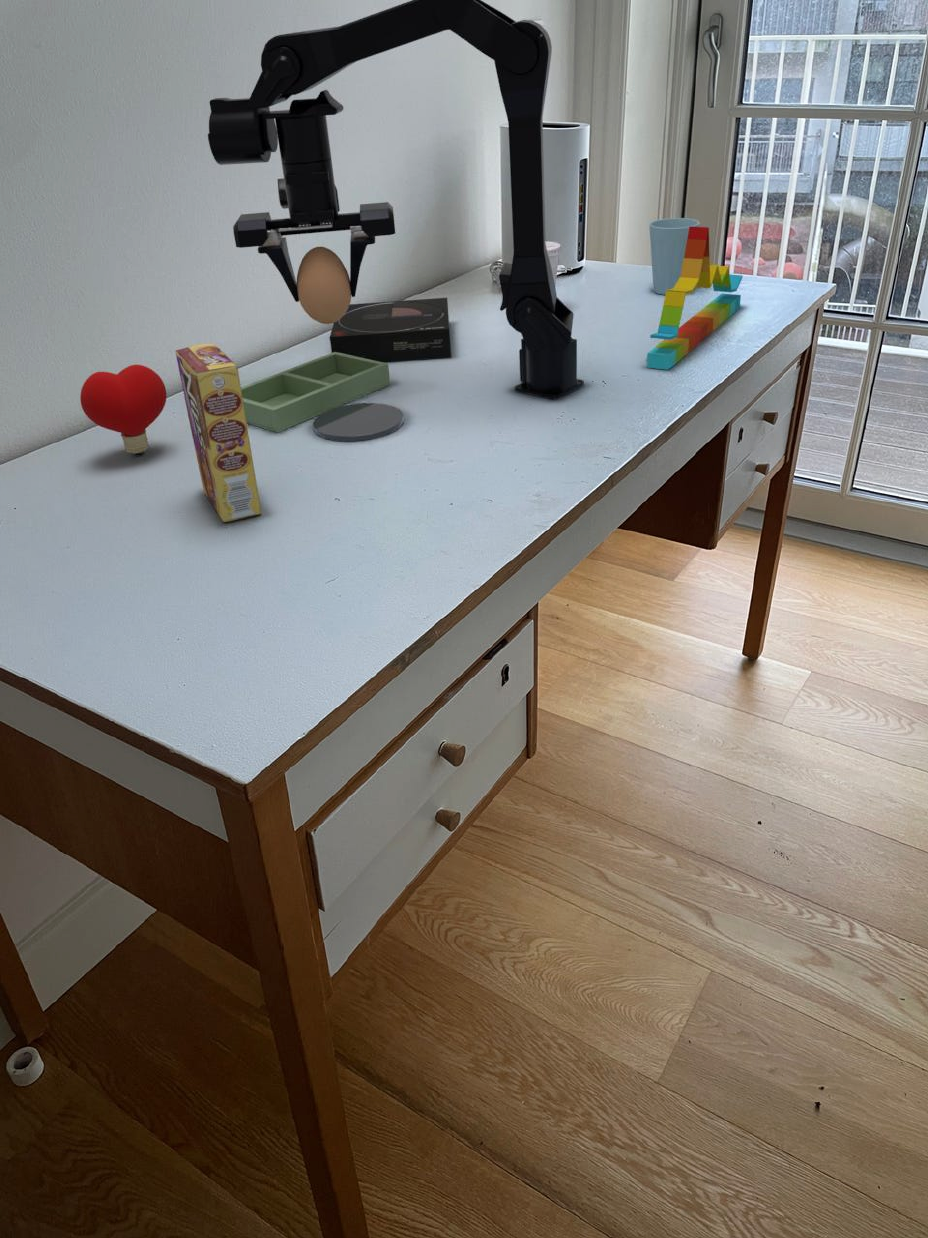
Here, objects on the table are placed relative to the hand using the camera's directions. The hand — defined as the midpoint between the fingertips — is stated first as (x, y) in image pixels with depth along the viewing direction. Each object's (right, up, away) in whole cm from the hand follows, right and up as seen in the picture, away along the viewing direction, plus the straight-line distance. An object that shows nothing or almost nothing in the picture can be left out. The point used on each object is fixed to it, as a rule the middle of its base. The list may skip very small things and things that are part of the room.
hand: (325, 298), depth 121 cm
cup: (+51, +13, +38) cm, 64 cm away
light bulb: (-21, -21, -7) cm, 30 cm away
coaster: (+4, -16, -4) cm, 17 cm away
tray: (-3, -12, +5) cm, 13 cm away
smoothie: (+29, +9, +33) cm, 45 cm away
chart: (+50, 0, +17) cm, 53 cm away
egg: (0, -3, +2) cm, 3 cm away
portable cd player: (+7, +1, +23) cm, 24 cm away
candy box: (-7, -28, -20) cm, 35 cm away
